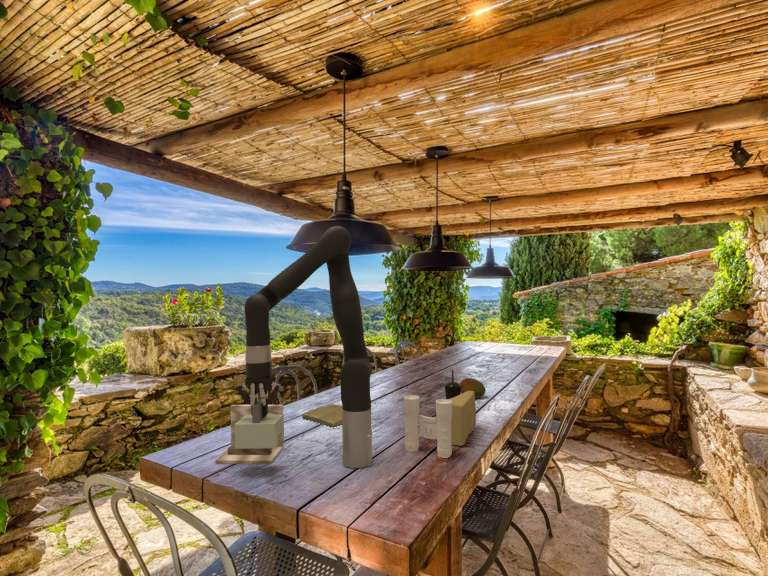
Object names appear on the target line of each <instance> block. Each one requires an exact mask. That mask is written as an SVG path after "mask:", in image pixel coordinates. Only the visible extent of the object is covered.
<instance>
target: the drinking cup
mask: <svg viewBox="0 0 768 576" xmlns="http://www.w3.org/2000/svg"><path fill="white" fill-rule="evenodd" d="M454 371H455V369H452V370H451V381H448V382H445V383H443V386H444V392H445V399H451V398H453V397H456V396H458V395H460V394H462V393H461V386H462V384H460V383H459V382H458V381H455V380H454V379H455V377H454V373H455V372H454Z"/></svg>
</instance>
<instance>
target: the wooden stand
mask: <svg viewBox="0 0 768 576" xmlns="http://www.w3.org/2000/svg"><path fill="white" fill-rule="evenodd" d="M281 414H284V404H268V414H267V415H281ZM245 415H251V405H250V404H231V405H230V446H229V447H228V448H227V449H226V450H225V451H224V452H223V453H222V454H221V455H220V456H219V457H218V458H216V459H215V461H214V463H216V464H217V465H218V464H219V465H220V464H222V465H233V464H234V465H272V464H273V463H274V461H275V460H276V459H277V457H278V456H279V454H280V453H281V452H282V451H283V449H284V438H283V439H282V440H278V445H277V447H276V448H235V431H234V424H236V423H237V422H238V421H239V420H241V419H242V418H243V417H244V416H245ZM253 463H254V464H253Z"/></svg>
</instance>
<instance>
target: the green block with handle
mask: <svg viewBox="0 0 768 576" xmlns="http://www.w3.org/2000/svg"><path fill="white" fill-rule="evenodd" d="M284 417H285V415H284V413H283V414H281V415H266V417H265V418H262V400H261V399H259V400H257V403H255V404H254V405H253V406H252V415H245V416H244V417H243V418H242V419H241V420H239V421H238V422H237V423H236V424H234V431H235V448H276V447H277V445H278V440H282V439H283V440H284V438H285V418H284Z"/></svg>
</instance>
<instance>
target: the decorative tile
mask: <svg viewBox="0 0 768 576" xmlns="http://www.w3.org/2000/svg"><path fill="white" fill-rule="evenodd" d="M301 418H303V419H302V420H305V419H306V420H305V421H308V420H310V421H309V422H311V421H313V422H312V423H314V422H317V423H316V424H318V423H320V424H319V425H321V424H323V425H322V426H324V425H326V426H325V427H327V426H329V427H328V428H331V427H333V428H332V429H335V428H334V427H337V426H339V427H341V426H340V425H342V405H340V404H334V403H332V404H329V405H326V406H318V407H317V408H315V409H310V410H308V411H307V412H302V416H301ZM337 428H338V427H337Z"/></svg>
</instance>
